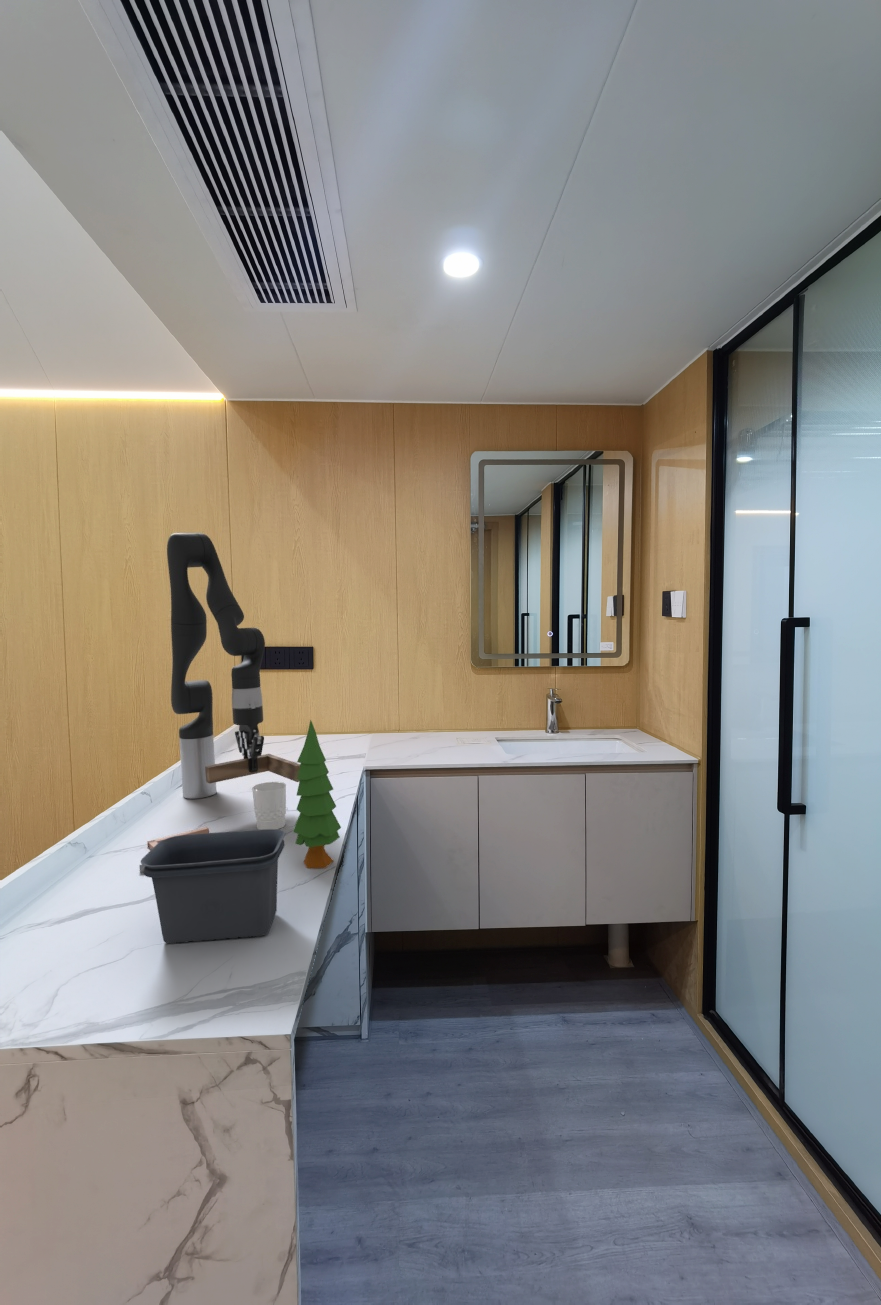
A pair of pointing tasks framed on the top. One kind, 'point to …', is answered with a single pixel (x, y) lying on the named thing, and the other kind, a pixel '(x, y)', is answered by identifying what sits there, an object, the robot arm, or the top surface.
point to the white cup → (270, 805)
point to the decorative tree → (315, 804)
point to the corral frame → (198, 831)
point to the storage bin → (215, 884)
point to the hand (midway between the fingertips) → (251, 770)
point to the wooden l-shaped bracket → (242, 768)
